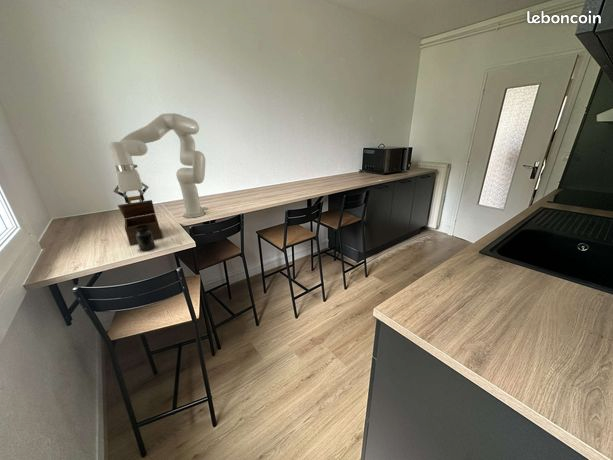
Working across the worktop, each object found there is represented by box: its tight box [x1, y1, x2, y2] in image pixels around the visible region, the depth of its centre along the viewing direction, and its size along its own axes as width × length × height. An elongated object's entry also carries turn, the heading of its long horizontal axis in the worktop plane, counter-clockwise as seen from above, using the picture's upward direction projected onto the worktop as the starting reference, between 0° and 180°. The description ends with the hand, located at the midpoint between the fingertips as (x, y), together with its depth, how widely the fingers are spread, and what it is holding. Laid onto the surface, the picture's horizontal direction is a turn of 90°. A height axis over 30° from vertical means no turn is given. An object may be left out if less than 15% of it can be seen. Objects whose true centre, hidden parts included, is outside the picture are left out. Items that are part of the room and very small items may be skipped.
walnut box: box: [124, 213, 163, 246], centre depth 138 cm, size 16×15×10 cm
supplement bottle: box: [136, 225, 156, 252], centre depth 124 cm, size 7×7×12 cm
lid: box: [117, 195, 156, 220], centre depth 135 cm, size 17×15×5 cm
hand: (135, 202), depth 132 cm, fingers closed on lid, 5 cm apart
